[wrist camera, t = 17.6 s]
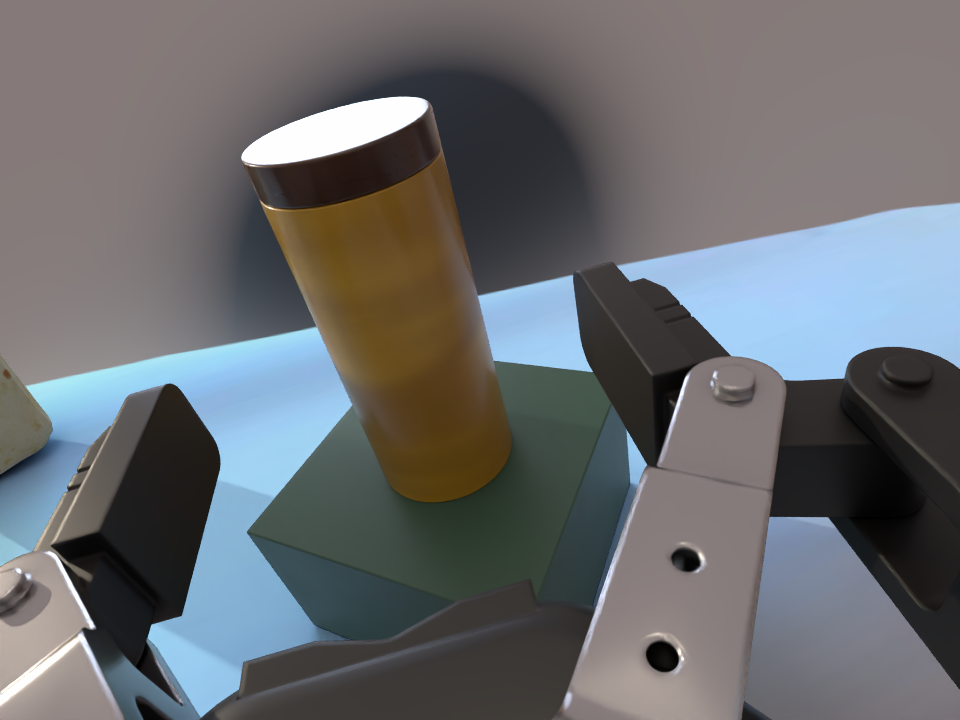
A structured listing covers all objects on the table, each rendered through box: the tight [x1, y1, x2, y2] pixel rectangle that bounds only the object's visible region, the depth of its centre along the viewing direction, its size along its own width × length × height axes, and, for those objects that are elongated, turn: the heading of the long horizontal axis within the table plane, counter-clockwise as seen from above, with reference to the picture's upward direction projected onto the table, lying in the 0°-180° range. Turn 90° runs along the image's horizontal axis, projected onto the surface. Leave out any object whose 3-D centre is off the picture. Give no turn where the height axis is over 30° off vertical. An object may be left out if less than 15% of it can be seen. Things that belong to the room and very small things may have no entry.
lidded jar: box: [242, 97, 512, 503], centre depth 17 cm, size 5×5×11 cm
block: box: [247, 361, 630, 640], centre depth 22 cm, size 10×10×6 cm
